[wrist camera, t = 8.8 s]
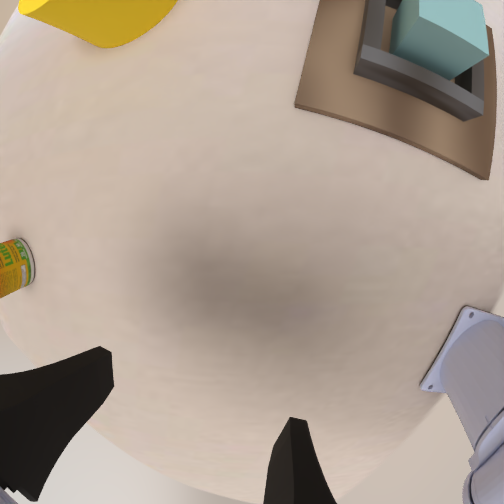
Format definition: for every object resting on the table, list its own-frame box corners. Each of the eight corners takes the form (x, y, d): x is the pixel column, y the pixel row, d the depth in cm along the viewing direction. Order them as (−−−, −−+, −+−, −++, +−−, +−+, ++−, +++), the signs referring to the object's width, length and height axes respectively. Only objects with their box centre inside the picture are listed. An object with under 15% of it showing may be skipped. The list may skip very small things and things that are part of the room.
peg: (444, 41, 11) (482, 5, 5) (442, 85, 12) (489, 55, 6) (392, 18, 12) (417, -30, 6) (387, 61, 13) (419, 16, 7)
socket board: (486, 32, 10) (505, 18, 7) (481, 179, 14) (509, 181, 11) (329, -34, 12) (330, -60, 8) (295, 107, 15) (292, 89, 12)
